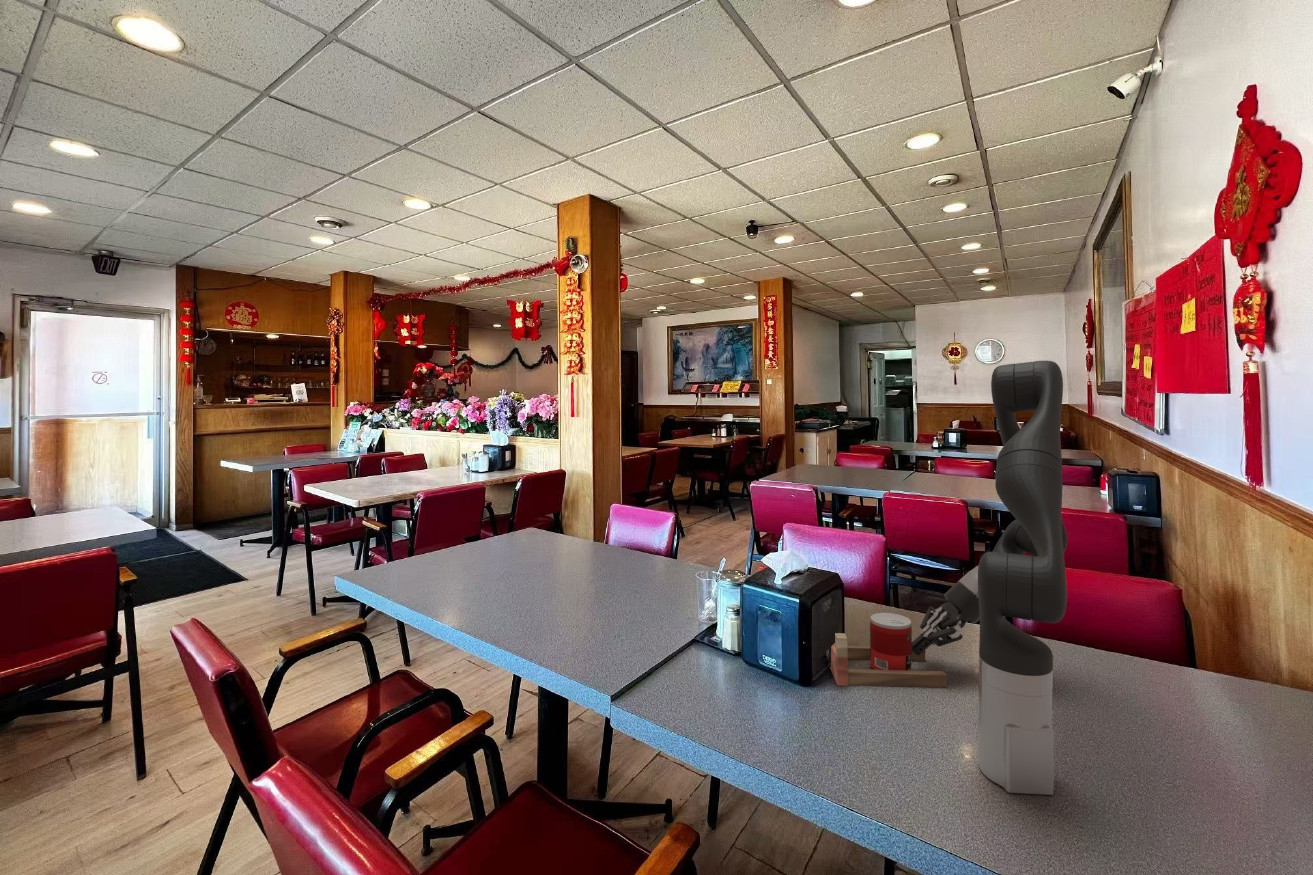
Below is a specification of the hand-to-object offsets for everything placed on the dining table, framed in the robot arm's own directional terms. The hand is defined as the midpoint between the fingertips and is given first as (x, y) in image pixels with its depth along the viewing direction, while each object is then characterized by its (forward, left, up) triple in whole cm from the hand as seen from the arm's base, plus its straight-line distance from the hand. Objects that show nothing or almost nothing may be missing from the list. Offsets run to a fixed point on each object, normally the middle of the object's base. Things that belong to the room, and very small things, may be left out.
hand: (913, 650), depth 116 cm
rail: (0, +6, -4) cm, 8 cm away
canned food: (0, +5, -4) cm, 6 cm away
